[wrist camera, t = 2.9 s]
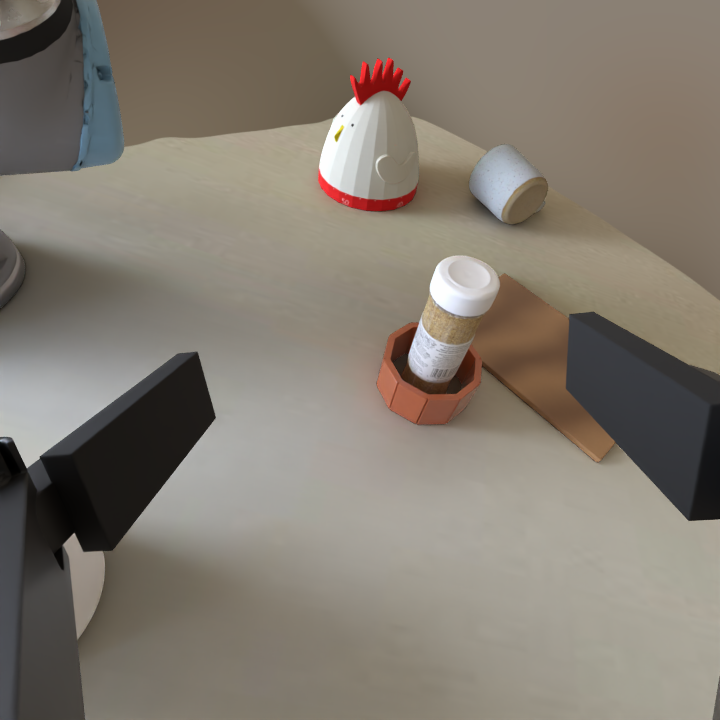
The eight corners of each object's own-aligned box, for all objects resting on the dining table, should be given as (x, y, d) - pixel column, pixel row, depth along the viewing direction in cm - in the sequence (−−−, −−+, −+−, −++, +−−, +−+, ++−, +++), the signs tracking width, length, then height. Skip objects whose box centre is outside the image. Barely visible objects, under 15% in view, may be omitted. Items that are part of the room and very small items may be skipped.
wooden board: (430, 322, 44) (431, 318, 44) (502, 276, 51) (504, 272, 50) (597, 463, 36) (601, 460, 36) (658, 388, 43) (662, 385, 42)
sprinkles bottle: (443, 367, 41) (495, 256, 30) (449, 407, 38) (508, 300, 28) (397, 363, 41) (433, 249, 30) (399, 403, 38) (439, 293, 27)
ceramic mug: (496, 233, 56) (521, 178, 50) (460, 199, 60) (480, 144, 54) (552, 220, 60) (582, 167, 54) (515, 189, 64) (539, 137, 58)
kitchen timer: (302, 165, 61) (303, 40, 49) (382, 151, 66) (401, 35, 54) (349, 220, 54) (365, 89, 42) (434, 199, 59) (469, 79, 47)
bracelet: (358, 377, 39) (363, 350, 36) (422, 336, 43) (432, 308, 40) (423, 443, 36) (435, 419, 32) (485, 391, 40) (502, 366, 37)
